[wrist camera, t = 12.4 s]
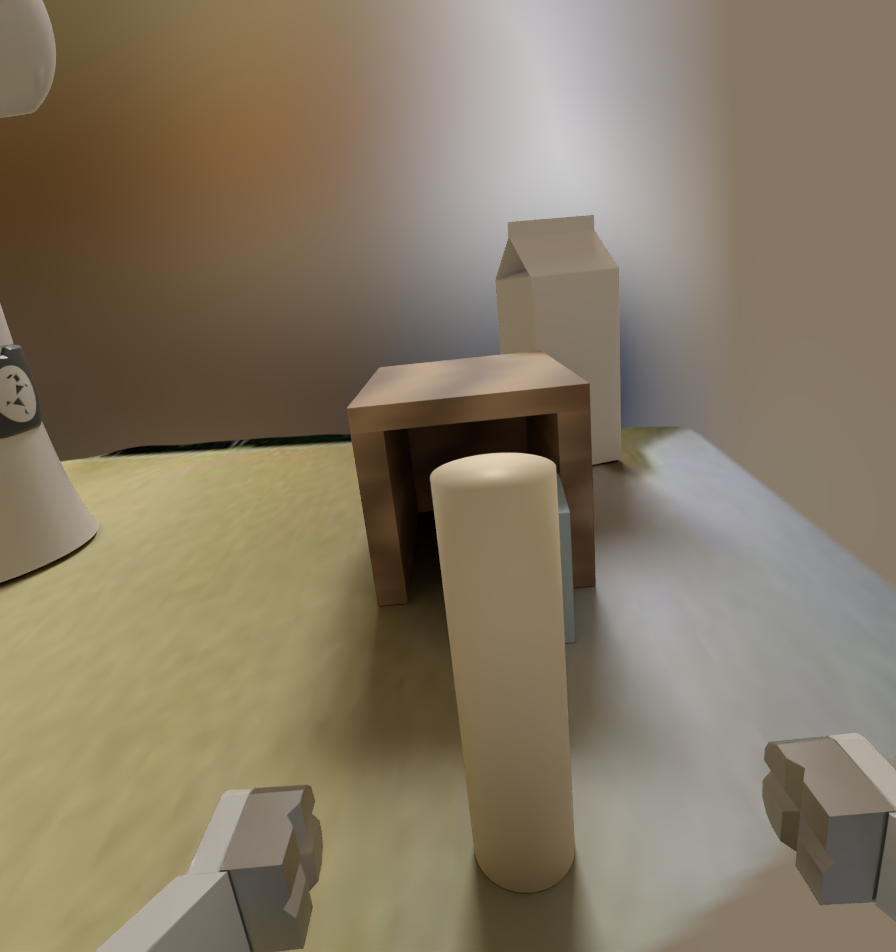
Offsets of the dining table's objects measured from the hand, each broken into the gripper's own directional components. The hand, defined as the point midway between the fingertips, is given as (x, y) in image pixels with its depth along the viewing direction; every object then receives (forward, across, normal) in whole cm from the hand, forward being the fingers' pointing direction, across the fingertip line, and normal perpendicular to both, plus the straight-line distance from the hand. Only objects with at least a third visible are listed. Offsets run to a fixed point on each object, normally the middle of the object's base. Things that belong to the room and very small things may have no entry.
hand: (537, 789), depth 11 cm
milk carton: (+40, -8, +6) cm, 41 cm away
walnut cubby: (+25, 0, +6) cm, 26 cm away
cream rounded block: (+11, 0, +6) cm, 12 cm away
